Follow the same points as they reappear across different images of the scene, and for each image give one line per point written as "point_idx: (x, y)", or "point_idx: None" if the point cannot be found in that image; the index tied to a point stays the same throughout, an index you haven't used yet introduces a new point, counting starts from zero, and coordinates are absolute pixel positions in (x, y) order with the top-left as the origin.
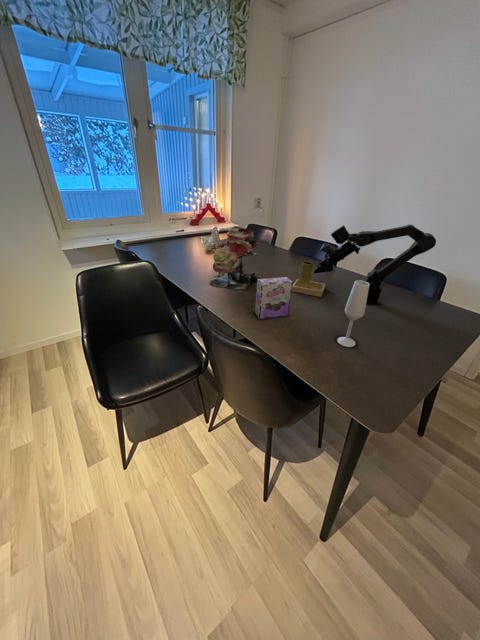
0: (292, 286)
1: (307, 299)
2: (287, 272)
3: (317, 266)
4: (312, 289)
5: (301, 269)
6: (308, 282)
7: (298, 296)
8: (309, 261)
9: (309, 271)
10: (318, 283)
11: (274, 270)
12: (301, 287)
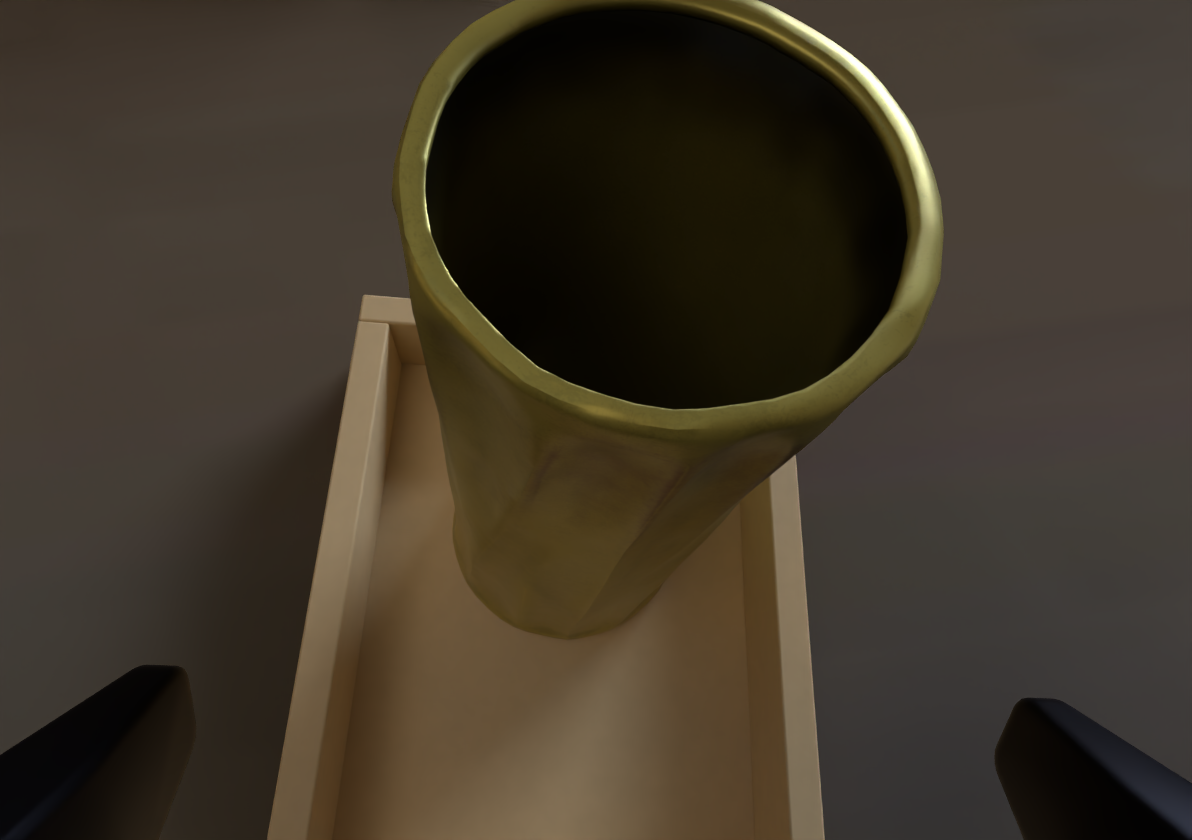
0: (360, 308)
1: (67, 685)
2: (1131, 187)
3: (1032, 730)
4: (314, 732)
5: (556, 206)
6: (501, 579)
7: (179, 495)
8: (934, 240)
9: (487, 478)
10: (785, 813)
11: (1077, 30)
12: (351, 474)
